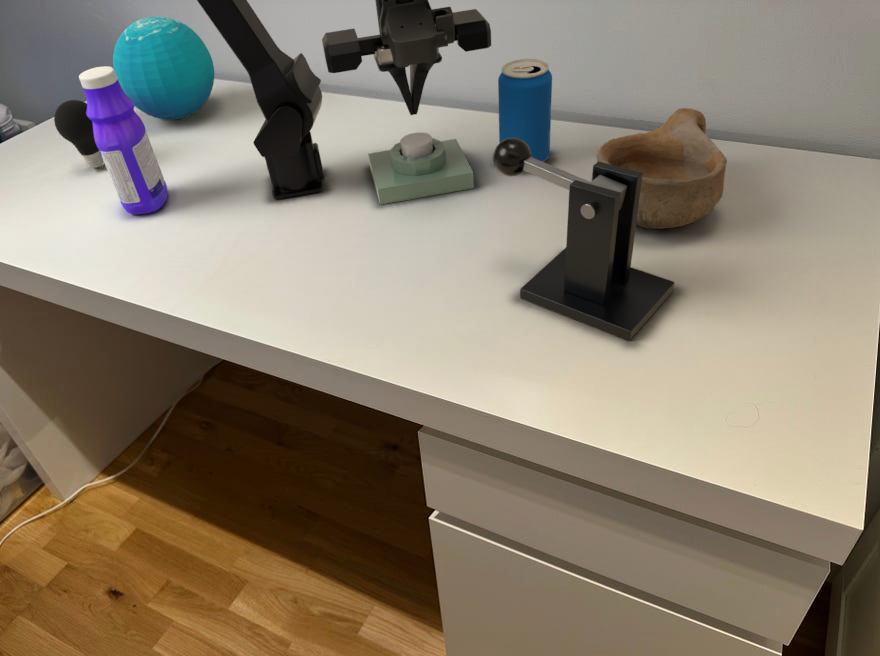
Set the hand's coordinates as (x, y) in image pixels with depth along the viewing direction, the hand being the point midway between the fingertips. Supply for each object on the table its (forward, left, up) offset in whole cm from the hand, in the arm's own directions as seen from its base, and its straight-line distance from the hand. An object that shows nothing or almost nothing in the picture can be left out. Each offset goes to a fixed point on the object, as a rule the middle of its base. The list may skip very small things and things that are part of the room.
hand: (413, 113), depth 85 cm
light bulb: (-45, +20, -9) cm, 50 cm away
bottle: (-36, +6, -9) cm, 37 cm away
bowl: (+25, -16, -9) cm, 31 cm away
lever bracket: (+13, -30, -9) cm, 34 cm away
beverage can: (+14, 0, -9) cm, 17 cm away
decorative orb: (-34, +35, -9) cm, 50 cm away
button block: (0, 0, -9) cm, 9 cm away
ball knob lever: (+9, -26, +1) cm, 27 cm away
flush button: (0, 0, -5) cm, 5 cm away
